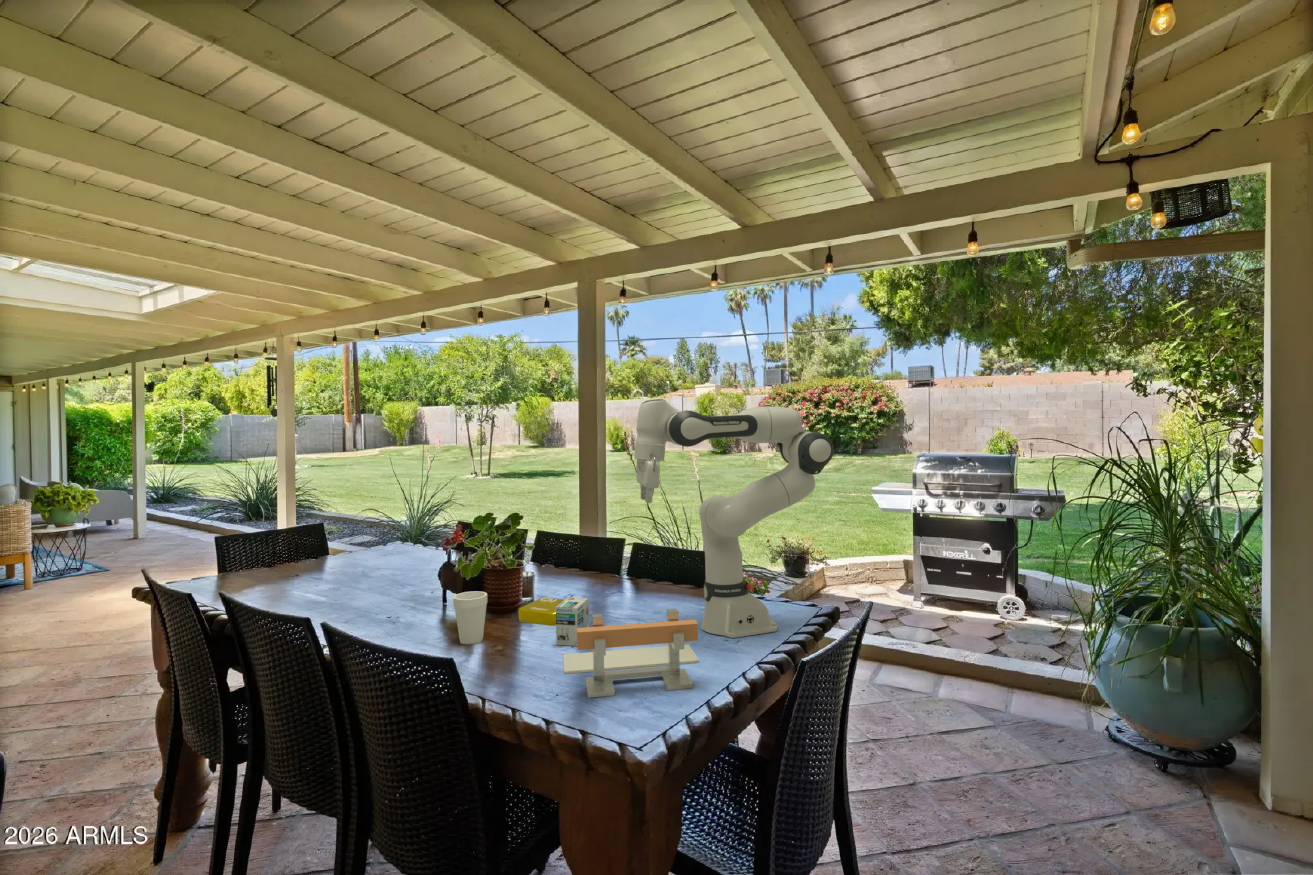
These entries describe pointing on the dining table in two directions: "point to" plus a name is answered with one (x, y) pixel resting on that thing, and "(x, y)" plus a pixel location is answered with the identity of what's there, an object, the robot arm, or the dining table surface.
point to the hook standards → (670, 674)
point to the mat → (626, 659)
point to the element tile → (540, 611)
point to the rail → (636, 634)
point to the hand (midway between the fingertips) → (645, 501)
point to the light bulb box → (571, 620)
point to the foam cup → (470, 615)
